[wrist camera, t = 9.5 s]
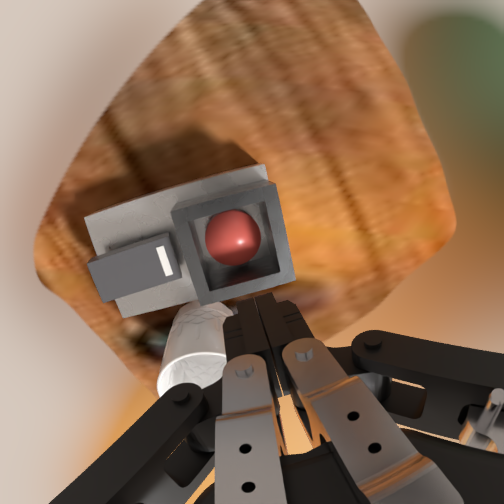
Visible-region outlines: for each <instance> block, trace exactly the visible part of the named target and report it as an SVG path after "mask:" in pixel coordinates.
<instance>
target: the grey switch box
mask: <svg viewBox="0 0 504 504" xmlns="http://www.w3.org/2000/svg"><path fill="white" fill-rule="evenodd" d="M231 209H240V210H243V211H245V212H246V213H248V214H249V215H250V216H251V217H252V218H253V219H254V220H255V222H256V223H257V225H258V227H259V229H260V232H261V244H260V247H259V249H258V251H257V253H256V254H255V256H254V257H253V258H252V259H250V260H249V261H247V262H246V263H244V264H241V265H236V266H229V265H224V264H222V263H219V262H218V261H216V260H215V259H214V258H213V257H212V256H211V255H210V254H209V252H208V250H207V247H206V243H205V231H206V227H207V224H208V222H209V221H210V219H211V218H212V217H213V216H214V215H215V214H217V213H220V212H224V211H228V210H231ZM84 219H85V222H86V225H87V228H88V231H89V234H90V237H91V240H92V243H93V246H94V248H95V251H96V254H97V256H98V255H101V254H104V253H107V252H110V251H113V250H116V249H119V248H122V247H125V246H127V245H130V244H133V243H136V242H139V241H142V240H146V239H149V238H152V237H155V236H158V235H161V234H164V233H167V232H169V235H170V238H171V241H172V244H173V247H174V251H175V254H176V257H177V260H178V263H179V266H180V269H181V272H182V278H180V279H177V280H174V281H171V282H168V283H165V284H162V285H158V286H155V287H152V288H149V289H146V290H143V291H140V292H136V293H133V294H130V295H127V296H124V297H121V298H118V299H115V301H116V303H117V306H118V308H119V310H120V312H121V314H122V317H123V318H126V317H130V316H134V315H138V314H143V313H147V312H151V311H155V310H159V309H163V308H167V307H171V306H175V305H178V304H182V303H186V302H190V301H194V300H199V303H200V306H204V305H208V304H212V303H216V302H220V301H223V300H227V299H231V298H234V297H238V296H242V295H245V294H249V293H253V292H256V291H260V290H263V289H267V288H271V287H274V286H278V285H281V284H285V283H288V282H291V281H295V280H296V279H295V274H294V269H293V263H292V258H291V253H290V249H289V244H288V239H287V234H286V229H285V224H284V220H283V215H282V210H281V206H280V201H279V197H278V192H277V188H276V184H275V183H273V182H270V181H268V177H267V172H266V168H265V164H261V163H257V164H253V165H249V166H244V167H240V168H236V169H232V170H228V171H225V172H221V173H217V174H213V175H209V176H206V177H202V178H198V179H195V180H191V181H188V182H184V183H181V184H177V185H174V186H171V187H167V188H164V189H161V190H158V191H154V192H151V193H148V194H145V195H142V196H139V197H136V198H133V199H130V200H127V201H124V202H121V203H118V204H115V205H112V206H109V207H106V208H103V209H100V210H98V211H95V212H93V213H91V214H90V215H88V216H86V217H84Z"/></svg>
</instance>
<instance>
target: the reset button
mask: <svg viewBox="0 0 504 504" xmlns="http://www.w3.org/2000/svg"><path fill="white" fill-rule="evenodd" d="M205 243H206V247H207V250H208V252H209V254H210V255H211V256H212V257H213V258H214V259H215V260H216V261H218V262H219V263H222V264H224V265H229V266H236V265H241V264H244V263H246V262H247V261H249V260H250V259H252V258H253V257H254V256H255V254H256V253H257V251H258V249H259V247H260V244H261V232H260V229H259V227H258V225H257V223H256V222H255V220H254V219H253V218H252V217H251V216H250V215H249V214H248V213H246V212H245V211H243V210H240V209H231V210H228V211H224V212H220V213H217V214H215V215H214V216H213V217H212V218H211V219H210V221H209V222H208V224H207V227H206V231H205Z"/></svg>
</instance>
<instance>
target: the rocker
mask: <svg viewBox="0 0 504 504" xmlns="http://www.w3.org/2000/svg"><path fill="white" fill-rule="evenodd" d="M87 266H88V268H89V271H90V273H91V276H92V278H93V281H94V283H95V285H96V288H97V290H98V292H99V295H100V297H101V299H102V301H103V303H105V302H108V301H111V300H114V299H118V298H121V297H124V296H127V295H130V294H133V293H136V292H140V291H143V290H146V289H149V288H152V287H155V286H158V285H162V284H165V283H168V282H171V281H174V280H177V279H180V278H182V272H181V269H180V266H179V263H178V260H177V257H176V254H175V251H174V247H173V244H172V241H171V238H170V235H169V232H167V233H164V234H161V235H158V236H155V237H152V238H149V239H146V240H142V241H139V242H136V243H133V244H130V245H127V246H125V247H122V248H119V249H116V250H113V251H110V252H107V253H104V254H101V255H98V256H96V257H93V258H91V259H90V260H89V262H88V263H87Z"/></svg>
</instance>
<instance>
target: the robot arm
mask: <svg viewBox="0 0 504 504" xmlns="http://www.w3.org/2000/svg"><path fill="white" fill-rule="evenodd" d="M255 301H256V305H257V308H256V305H255V302H254V299H253V298H249V299H246V300H242V301H238V302H236V304H237V309H238V314H236V315H232V316H228V317H226V319H225V321H224V323H223V325H222V326H223V335H224V344H225V352H226V361H227V364H226V365H225V367H224V369H223V374H222V377H221V378H220V379H219V380H218V381H216V382H215V383H213V384H211V385H209V386H207V387H205V388H203V389H201V387H200V386H198V385H197V384H194V383H181V384H177V385H175V386H173V387H171V388H170V389H168V390H167V391H166V392H165V393H164V394H163V395H162V396H161V397H160V398H159V399H158V400H157V401H156V402H155V403H154V404H153V405H152V406H151V407H150V408H149V409H148V410H147V411H146V412H145V413H144V414H143V415H142V416H141V417H140V418H139V419H138V420H137V421H136V422H135V423H134V424H133V425H132V426H131V427H130V428H129V429H128V430H127V431H126V432H125V433H124V434H123V435H122V436H121V437H120V438H119V439H118V440H117V441H116V442H114V443H113V444H112V446H110V447H109V448H108V449H107V450H106V451H105V452H104V453H103V454H102V455H101V456H100V457H99V458H98V459H97V460H96V461H95V462H93V463H92V464H91V466H89V467H88V468H87V469H86V470H85V471H84V472H83V473H82V474H81V475H80V476H78V478H76V479H75V480H74V481H73V482H72V483H71V484H70V485H69V486H68V487H66V489H64V490H63V491H62V492H61V493H60V494H59V495H58V496H56V497H55V498H54V499H53V500H52V501H51V502H50V503H49V504H185V503H186V502H187V500H188V499H189V498H190V497H191V496H192V494H193V493H194V492H195V491H196V489H197V488H198V487H199V486H200V484H201V483H202V482H203V481H204V480H205V478H206V477H207V475H208V474H209V473H210V472H211V471H212V469H213V468H214V467H215V482H214V483H213V484H211V485H210V486H209V487H208V488H206V489H205V490H204V492H203V493H202V494H201V495H200V496H199V497H198V498H197V500H196V501H195V502H194V504H504V354H502V353H496V352H489V351H483V350H477V349H472V348H466V347H461V346H455V345H450V344H444V343H439V342H433V341H429V340H424V339H419V338H414V337H409V336H404V335H400V334H395V333H390V332H386V331H380V330H369V331H365V332H363V333H360V334H359V335H357V336H356V337H355V338H354V339H353V341H352V344H351V346H348V347H339V348H331V347H326V346H325V345H324V344H323V343H322V342H321V341H320V340H318V339H315V338H314V336H313V334H312V332H311V331H310V329H309V327H308V325H307V323H306V322H305V320H304V319H303V316H302V315H301V313H300V311H299V309H298V308H297V306H296V304H294V303H292V302H290V301H288V300H286V301H282V302H279V303H276V300H275V298H274V296H273V294H272V292H271V293H267V294H264V295H260V296H256V297H255ZM257 309H258V311H257ZM258 313H259V314H258ZM259 316H260V317H259ZM275 369H276V370H275ZM276 372H277V374H276ZM277 375H278V378H279V381H280V384H281V387H282V390H283V393H284V396H285V395H289V394H291V397H292V400H293V404H294V409H295V412H296V414H297V416H298V418H299V420H300V422H301V424H302V426H303V428H304V431H305V433H306V435H307V437H308V439H309V441H310V443H311V445H312V447H313V449H312V450H311V451H309V452H307V453H303V454H293V455H288V452H287V447H286V441H285V436H284V431H283V426H282V420H281V415H280V412H279V411H280V405H279V401H278V398H279V397H282V393H281V389H280V385H279V381H278V378H277ZM392 378H395V379H398V380H402V381H407V382H410V383H414V384H418V385H421V386H422V387H424V388H425V389H422V388H418V387H414V386H410V385H406V384H402V383H399V382H395V381H392ZM396 423H397V424H400V425H404V426H407V427H410V428H414V429H417V430H421V431H425V432H429V433H432V434H436V435H440V436H444V437H448V438H453V439H457V440H459V441H460V444H459V443H455V442H451V441H448V440H444V439H441V438H437V437H434V436H430V435H427V434H424V433H421V432H418V431H414V430H410V429H405V428H399V427H398V426H397V424H396ZM180 443H181V444H180ZM179 444H180V445H179ZM178 445H179V446H178ZM173 451H174V452H173ZM172 452H173V453H172ZM171 453H172V454H171ZM170 454H171V455H170Z"/></svg>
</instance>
